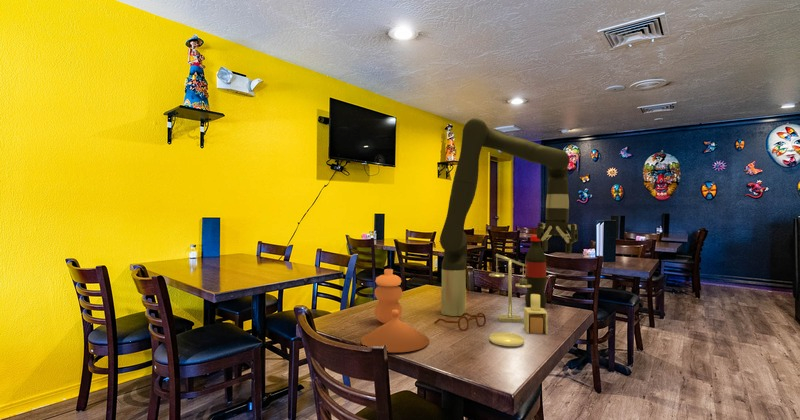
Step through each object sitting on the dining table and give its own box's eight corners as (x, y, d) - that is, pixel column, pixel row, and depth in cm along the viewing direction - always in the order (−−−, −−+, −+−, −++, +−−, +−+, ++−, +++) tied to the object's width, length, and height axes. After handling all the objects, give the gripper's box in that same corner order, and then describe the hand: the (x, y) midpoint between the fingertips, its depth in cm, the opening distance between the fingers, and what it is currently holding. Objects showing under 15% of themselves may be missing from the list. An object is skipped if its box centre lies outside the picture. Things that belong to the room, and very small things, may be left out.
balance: (489, 321, 137) (489, 254, 137) (488, 317, 142) (488, 252, 143) (532, 323, 135) (532, 255, 135) (529, 319, 140) (529, 253, 141)
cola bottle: (543, 305, 162) (543, 235, 163) (549, 310, 154) (549, 236, 154) (522, 304, 163) (523, 234, 163) (527, 309, 155) (527, 235, 155)
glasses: (459, 333, 125) (459, 318, 125) (433, 324, 135) (433, 309, 135) (486, 326, 132) (486, 312, 132) (460, 318, 143) (460, 304, 143)
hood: (527, 333, 123) (527, 296, 123) (524, 327, 129) (524, 292, 129) (547, 334, 122) (547, 297, 122) (543, 328, 128) (542, 293, 129)
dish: (491, 347, 110) (491, 342, 110) (488, 336, 120) (488, 331, 120) (526, 349, 109) (526, 343, 109) (520, 337, 119) (520, 333, 119)
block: (530, 332, 124) (530, 317, 124) (528, 329, 128) (528, 314, 128) (543, 333, 124) (543, 318, 124) (540, 329, 127) (540, 314, 128)
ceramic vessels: (436, 350, 108) (436, 284, 108) (362, 354, 105) (362, 285, 105) (414, 317, 142) (414, 267, 143) (358, 319, 140) (358, 268, 140)
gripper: (533, 206, 139) (532, 251, 139) (571, 207, 128) (570, 255, 127) (544, 207, 143) (543, 250, 143) (582, 207, 132) (581, 254, 132)
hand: (556, 252), depth 135 cm, fingers open, 8 cm apart
